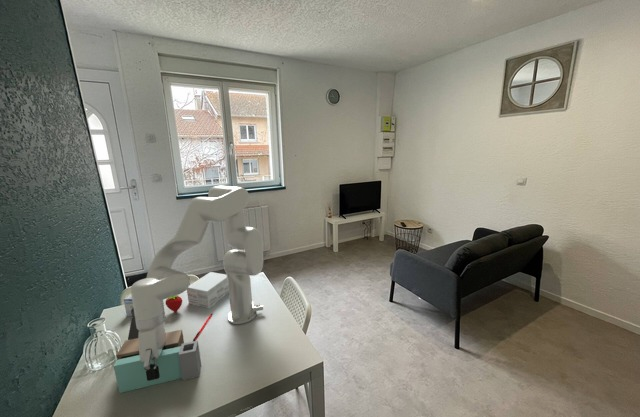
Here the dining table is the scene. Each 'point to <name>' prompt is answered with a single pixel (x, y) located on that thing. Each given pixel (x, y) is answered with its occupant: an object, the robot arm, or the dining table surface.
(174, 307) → the strawberry
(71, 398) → the dining table surface
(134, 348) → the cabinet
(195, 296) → the supplement box
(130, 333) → the phone stand
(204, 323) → the pen
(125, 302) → the medicine box
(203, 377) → the dining table surface
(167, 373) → the teal desk organizer
